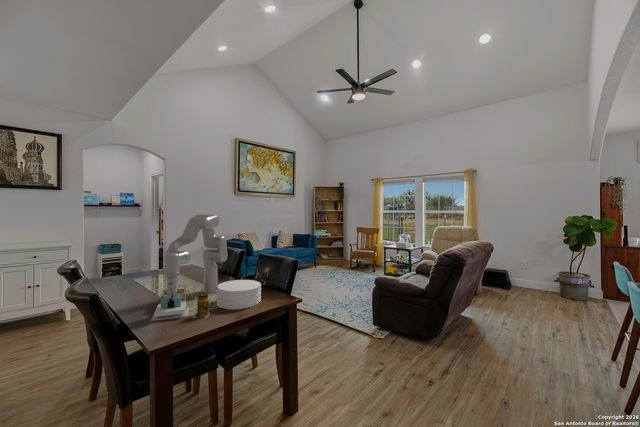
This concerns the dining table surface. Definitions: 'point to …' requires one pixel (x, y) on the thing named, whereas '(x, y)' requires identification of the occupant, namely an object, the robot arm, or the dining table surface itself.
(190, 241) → the robot arm
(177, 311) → the lid
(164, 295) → the crate
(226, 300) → the plate stack
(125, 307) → the dining table surface
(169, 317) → the mat
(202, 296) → the condiment
